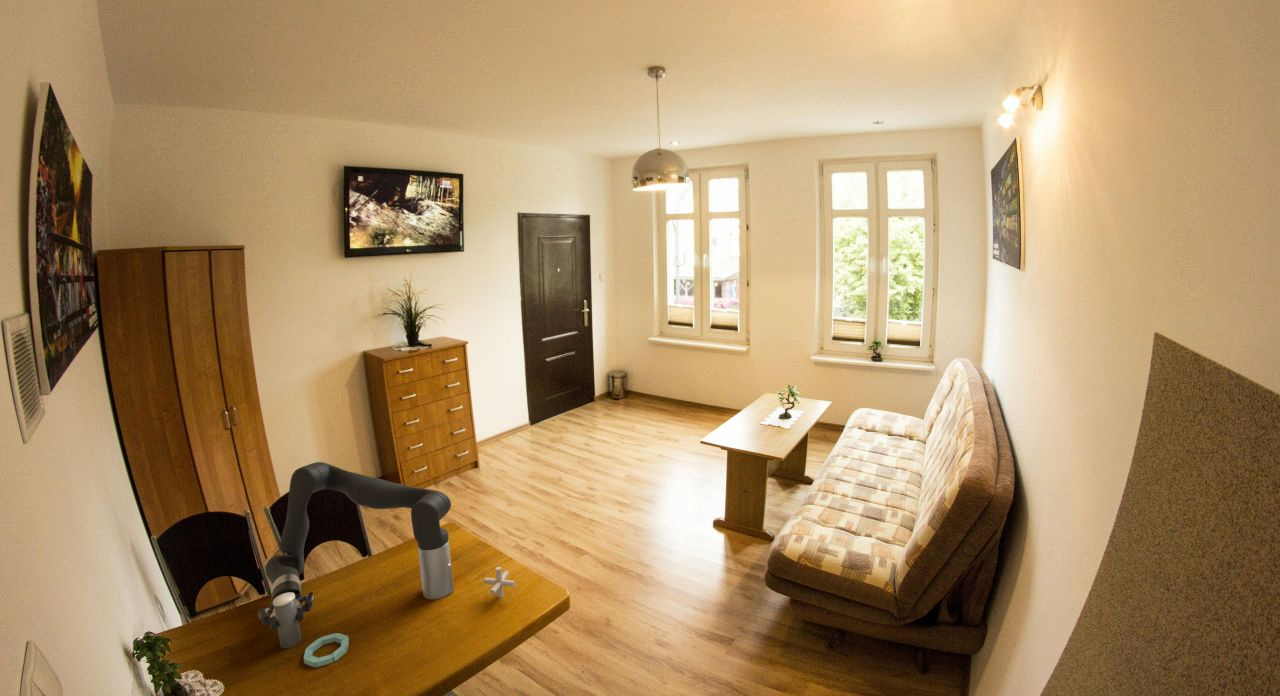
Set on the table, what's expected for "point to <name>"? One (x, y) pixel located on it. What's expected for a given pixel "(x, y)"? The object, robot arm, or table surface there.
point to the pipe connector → (499, 582)
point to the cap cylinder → (287, 620)
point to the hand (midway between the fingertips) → (287, 623)
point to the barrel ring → (327, 659)
